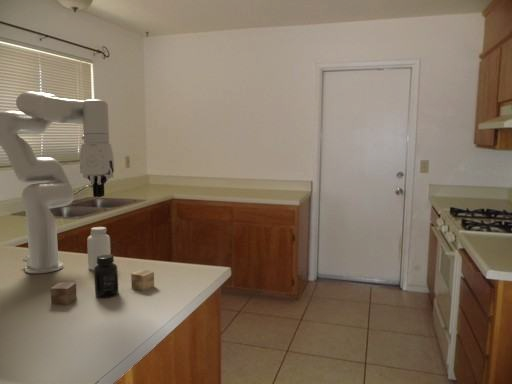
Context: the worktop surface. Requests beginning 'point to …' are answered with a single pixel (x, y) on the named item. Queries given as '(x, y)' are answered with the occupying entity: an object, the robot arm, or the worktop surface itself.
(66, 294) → the walnut block
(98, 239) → the pill bottle
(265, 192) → the worktop surface
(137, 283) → the maple block
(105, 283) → the supplement bottle
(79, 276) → the worktop surface
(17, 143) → the robot arm
